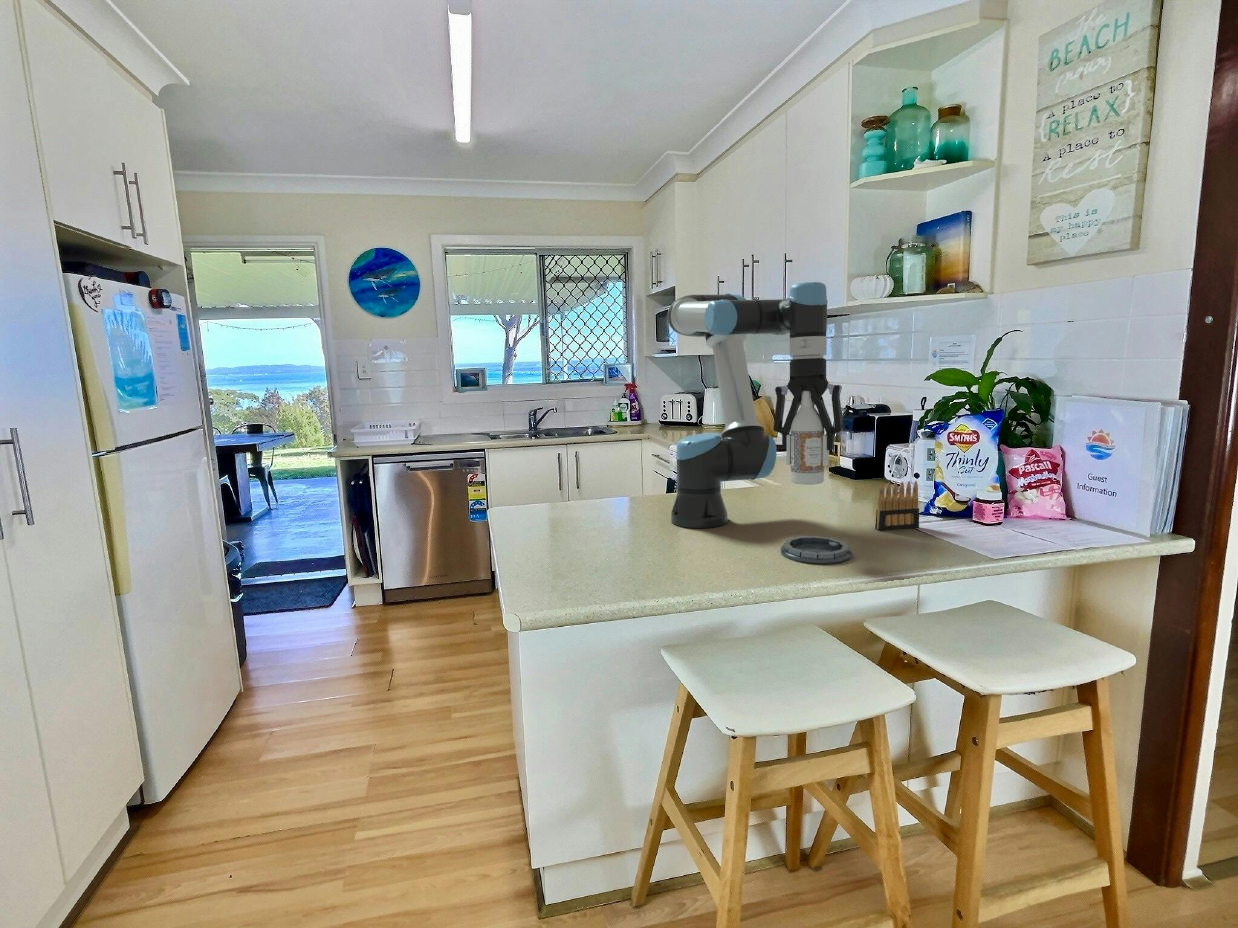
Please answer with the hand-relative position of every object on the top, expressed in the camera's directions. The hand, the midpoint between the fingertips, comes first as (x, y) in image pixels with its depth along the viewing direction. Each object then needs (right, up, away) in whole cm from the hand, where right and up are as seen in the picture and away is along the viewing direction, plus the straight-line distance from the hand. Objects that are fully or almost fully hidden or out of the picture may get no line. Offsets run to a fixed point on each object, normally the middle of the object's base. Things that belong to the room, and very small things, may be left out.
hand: (807, 464), depth 136 cm
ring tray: (+2, -20, +2) cm, 20 cm away
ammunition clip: (+28, -16, +20) cm, 38 cm away
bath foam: (0, -4, +1) cm, 4 cm away
